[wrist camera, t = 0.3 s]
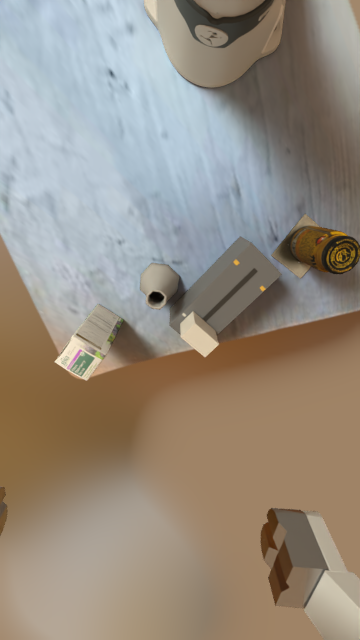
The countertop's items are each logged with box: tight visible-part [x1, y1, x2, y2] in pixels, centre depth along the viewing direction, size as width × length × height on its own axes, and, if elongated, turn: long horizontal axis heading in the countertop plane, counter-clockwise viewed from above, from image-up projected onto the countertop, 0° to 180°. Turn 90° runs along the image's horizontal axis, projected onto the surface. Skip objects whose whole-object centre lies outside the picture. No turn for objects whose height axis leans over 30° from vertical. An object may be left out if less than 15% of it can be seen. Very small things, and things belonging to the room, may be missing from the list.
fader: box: [180, 311, 219, 357], centre depth 46 cm, size 3×5×5 cm, turn 47°
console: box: [169, 236, 282, 335], centre depth 50 cm, size 18×7×8 cm, turn 137°
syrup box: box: [55, 304, 123, 380], centre depth 50 cm, size 6×6×14 cm
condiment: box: [271, 214, 360, 278], centre depth 46 cm, size 7×8×12 cm
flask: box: [140, 263, 179, 309], centre depth 49 cm, size 7×7×10 cm
